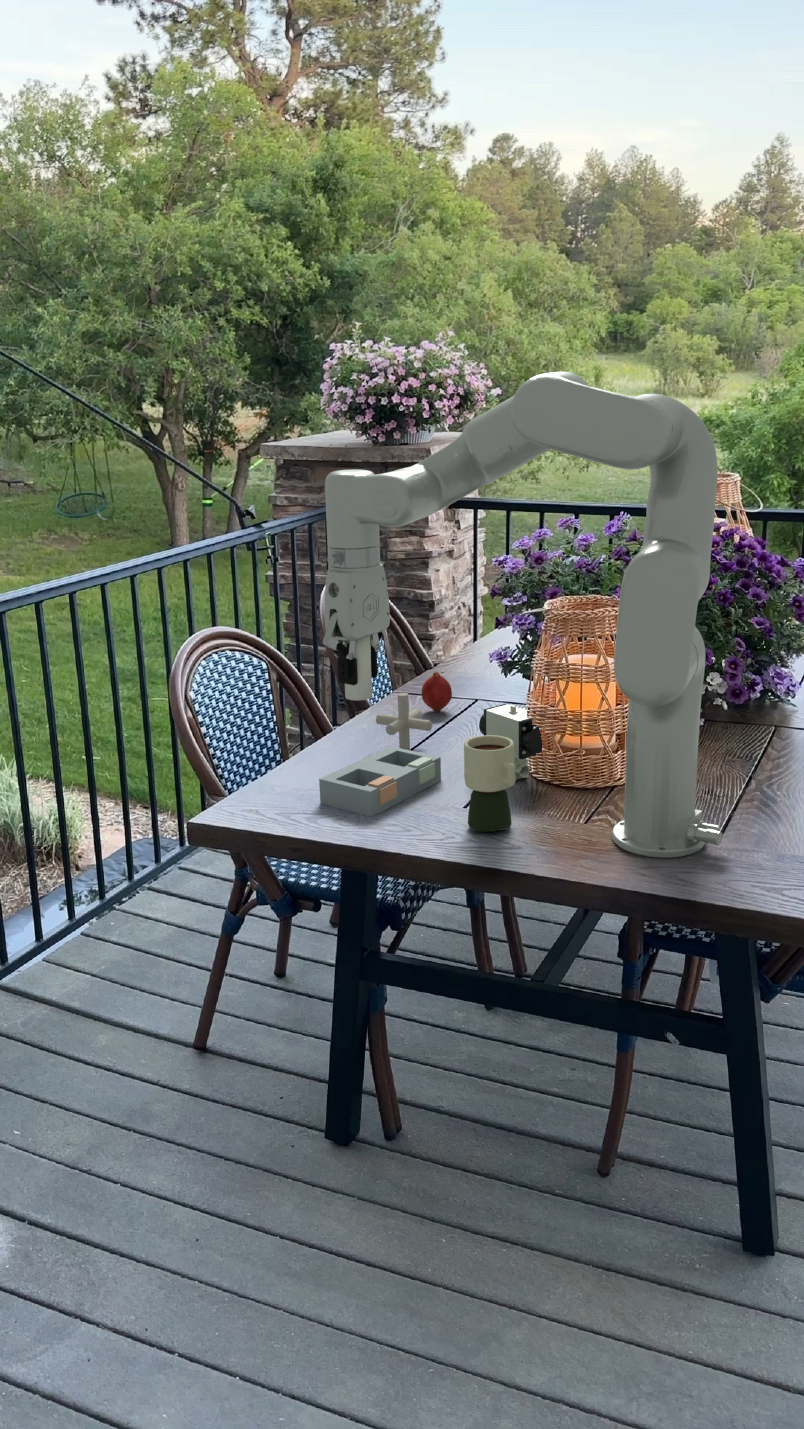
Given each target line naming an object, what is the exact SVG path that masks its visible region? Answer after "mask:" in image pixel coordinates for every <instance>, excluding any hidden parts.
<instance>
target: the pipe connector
mask: <svg viewBox="0 0 804 1429" xmlns="http://www.w3.org/2000/svg"><path fill="white" fill-rule="evenodd" d="M409 700H410V699H409V693H408V692H399V693H397V708H398V709H397V711H398V712H397V713H398V715H391V714H384V713H383V714H382V713H378V714H377V715H376V717H375V722H376V724H377V725H381V726H386V727H385V732H386V733H387V735H389V736H393V735H395V734H397V733H398V741H399V742H398V744H399V745H398V748H401V749H406V750H410V751H411V743H410V741H411V739H410V738H411V736H410V735H411V734H410V729H411V730H419V731H426V732H428V731H429V732H430V731H431V730H432V729H433V721H432V720H431V719H421V717H422V716H423V713H422V711H421V709H419V708H415V709H413V710H411V711H410V706H409V702H410V701H409Z"/></svg>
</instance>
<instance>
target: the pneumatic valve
mask: <svg viewBox="0 0 804 1429" xmlns="http://www.w3.org/2000/svg"><path fill="white" fill-rule="evenodd" d="M527 711H528V710H527V709H526V708H525V707H524V708H519V707H517V705H514V704H508V703H502V704H498V705H496V706H491V707H488V708H484V709H483V713H482V715H481V717H480V719H479V722H478V726H479V727H478V729H479V731H480V733H481V734H482V736H485V735H494V736H503V737H507V738H510V739H511V740H512V741H513V743H514V756H515V762H514V765H515V782H516V781H517V780H519V779H523V778H524V779H526V778H528V777H529V773H530V767H529V764H528V763H529V759H528V758H531V757H534V756H537V755H536V753H540V752H541V751H542V740H541V737H540V736H541V734H540V731H539V726H536V725H532V719H530V718H527Z"/></svg>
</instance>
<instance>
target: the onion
mask: <svg viewBox="0 0 804 1429" xmlns="http://www.w3.org/2000/svg"><path fill="white" fill-rule="evenodd" d="M452 696H453V692H452V686H451V684H450V682H449V681H448V680H447V679H446V678H445V677H443V676H442V675H441V674H440V672H439V671H434V672H433V673H432V676H429V677H428V678H427V679H426V680H425V681H424V683H423V684H422V687H421V699H422V701H423V703H424V704H425V705H426V706H427V707H428V708H430V709H431V710H432V711H434V712H435V713H439V712H441V711H442V710H443V709H444V708H446V707H447V706H448V705H449V703H450V702H451V700H452V698H453V697H452Z"/></svg>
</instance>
